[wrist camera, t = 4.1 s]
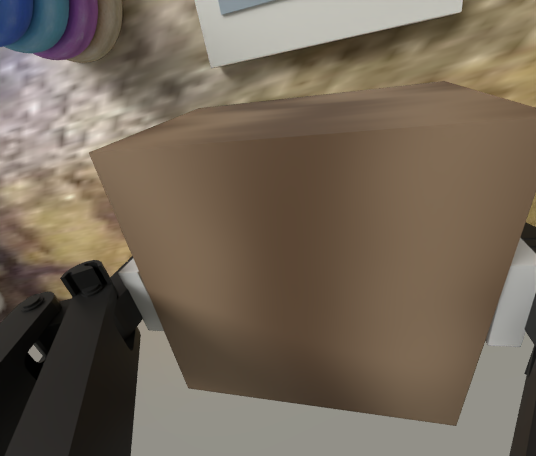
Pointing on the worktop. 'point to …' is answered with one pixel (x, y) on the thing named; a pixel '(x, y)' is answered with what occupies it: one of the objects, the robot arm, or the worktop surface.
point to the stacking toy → (61, 28)
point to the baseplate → (302, 23)
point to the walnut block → (330, 241)
